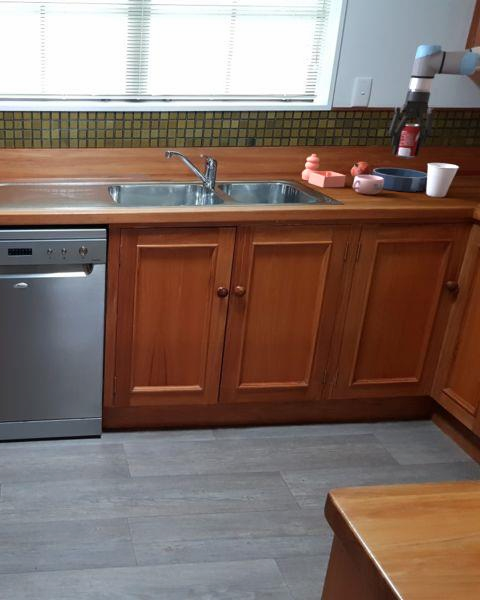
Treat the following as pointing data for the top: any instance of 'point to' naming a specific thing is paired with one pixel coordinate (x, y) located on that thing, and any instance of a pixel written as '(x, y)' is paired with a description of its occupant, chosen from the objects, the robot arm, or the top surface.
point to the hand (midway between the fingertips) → (404, 154)
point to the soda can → (408, 141)
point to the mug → (368, 184)
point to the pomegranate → (360, 169)
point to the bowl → (402, 179)
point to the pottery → (321, 175)
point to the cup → (439, 178)
